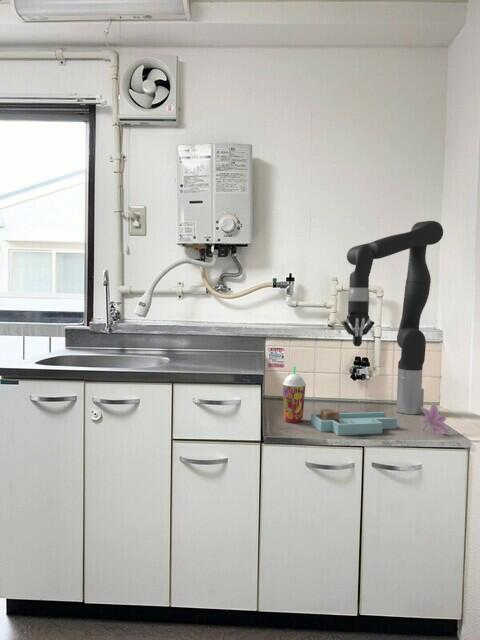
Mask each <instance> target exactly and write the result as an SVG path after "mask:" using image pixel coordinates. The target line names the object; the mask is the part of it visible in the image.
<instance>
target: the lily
mask: <svg viewBox="0 0 480 640" xmlns="http://www.w3.org/2000/svg"><path fill="white" fill-rule="evenodd" d="M420 407H421V409H422V410H423V414H424V415H425V416H424V417H423V418H422V419H421V422H420V423H421V424H422V425H425V426H424V428H423V429H422V432H423V431H425V429H426V428H427V426H428V427H430V428H431V431H432V433H433V436H434V438H437V436H438V434H439V431H440V432H442V433H444V434H445V435H448V436H451V433H450V431H449V429H448V427H447V425H446V424H445V423H444V422H446V420H447V418H446V416H444V415H441V414H440V412H439V408H438V406H437V404H436V402H435V401H433V402H432V403H431V406H430V408H429V409H427V408H426V407H424V406H423V407H422V406H420Z"/></svg>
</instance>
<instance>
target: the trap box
mask: <svg viewBox="0 0 480 640" xmlns="http://www.w3.org/2000/svg"><path fill="white" fill-rule="evenodd" d="M320 415H321V413H313V414H310V425H312V427H314V428H315V429H317V430H318V431H319V432H321V433H323V432H333V433H334V434H336V435H337V436H351V435H352V436H353V435H354V436H355V435H373V434H374V435H376V434H378V435H379V434H383V430H391V429H392V430H393V429H397V428H398V418H397V417H386V416H385V415H386V412H385V411H371V412H369V411H368V412H367V411H366V412H342V413H341V412H339V423H337V422H336V421H334V420H326V421H323V420H321V419H320Z"/></svg>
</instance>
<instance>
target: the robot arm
mask: <svg viewBox="0 0 480 640" xmlns="http://www.w3.org/2000/svg"><path fill="white" fill-rule="evenodd" d="M443 235H444V229H443V225H442V224H441V223H439V222H438V221H436V220H424V221H418V222H416V223H414V224H413V225H412V227H411V230H410V231H408V232H404V233H403V232H402V233H397V234H394V235H390V236H389V235H388V236H386V237H382V238H379V239H376V240H374V241H372V242H367V243H363V244H360V245H356V246H353V247H351V248H350V249H349V250H348V251H347V252H346V260H347V262H348V263H349V264H350V265H352V266H355V268H354V271H352V272H351V273H350V275H349V285H348V286H349V290H348V299H347V300H348V301H347V303H348V304H347V316H346V319H344V320H342V321H340V322H341V325H342V326H343V328H344V329H345V331H346V332H347V334H348V335H351V336H352V340H353V341H352V344H353V346H354V347H361V346H362V344H363V336H366V335H367V334H368V333H369V332H370V331H371V329H372V328H373V326H374V325H375V324H376V323H375V321H373V320H371V319H370V316H369V315H370V314H369V312H370V311H369V307H370V306H369V305H370V289H369V288H370V287H369V285H370V284H369V282H370V274H371V271H372V268H373V263H374V260H378V259H382V258H386V257H388V256H391V255H395V254H397V253H400V252H403V251H406V250H409V252H408V253H409V256H408V262H407V263H408V264H407V274H406V275H407V276H406V280H405V285H404V296H403V304H402V313H401V319H400V323H399V327H398V331H397V334H396V342H397V345H398V347H399V348H400V349H401V351H400V352H401V354H400V358H399V361H398V362H397V384H396V385H397V387H396V406H395V407H396V413H397V412H398V413H400V414H405V415H419V414H424V412H423V410H422V409H421V407H420V406H422V407H424V396H425V389H424V388H422V387H423V369H424V368H423V366H424V364H425V360H426V359H425V358H426V345H427V341H426V337H425V336H426V335H425V334H424V333H423V332H422V331H421V329H420V321H421V316H422V313H423V311H424V309H425V306H426V304H427V302H428V299H429V295H430V291H431V282H432V279H431V273H430V270H429V268H428V264H427V259H426V254H427V247H428V246H432V245H435V244H437V243H439V242H440V241H441V240H442V238H443ZM350 325H351V326H350Z"/></svg>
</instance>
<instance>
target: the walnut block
mask: <svg viewBox="0 0 480 640" xmlns="http://www.w3.org/2000/svg"><path fill="white" fill-rule="evenodd" d="M339 413H340V412H339V411H338V410H336V409H331V408H330V409H320V414H321V415H320V419H321V420H323V421H326V420H334V421H336V422H337V423H339Z"/></svg>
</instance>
